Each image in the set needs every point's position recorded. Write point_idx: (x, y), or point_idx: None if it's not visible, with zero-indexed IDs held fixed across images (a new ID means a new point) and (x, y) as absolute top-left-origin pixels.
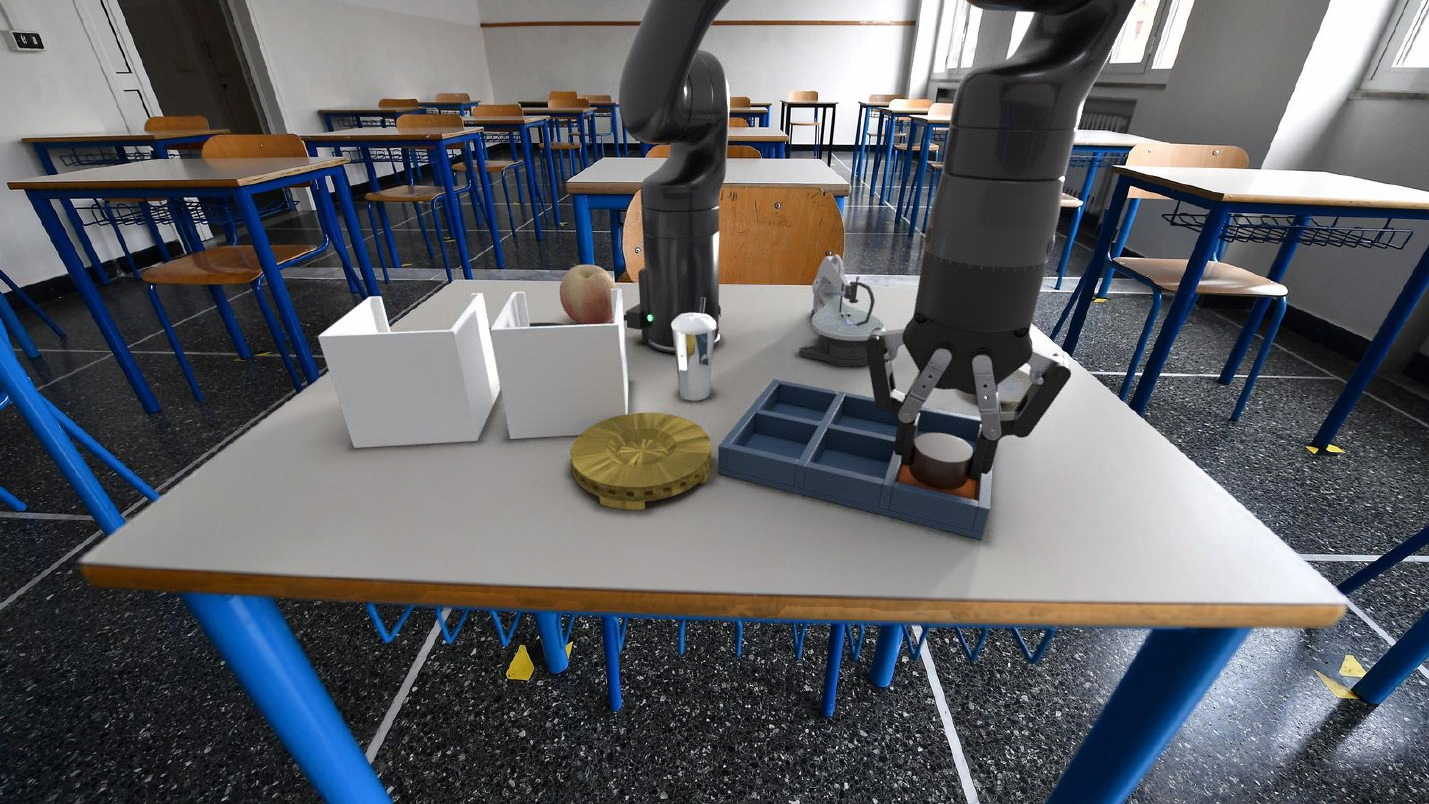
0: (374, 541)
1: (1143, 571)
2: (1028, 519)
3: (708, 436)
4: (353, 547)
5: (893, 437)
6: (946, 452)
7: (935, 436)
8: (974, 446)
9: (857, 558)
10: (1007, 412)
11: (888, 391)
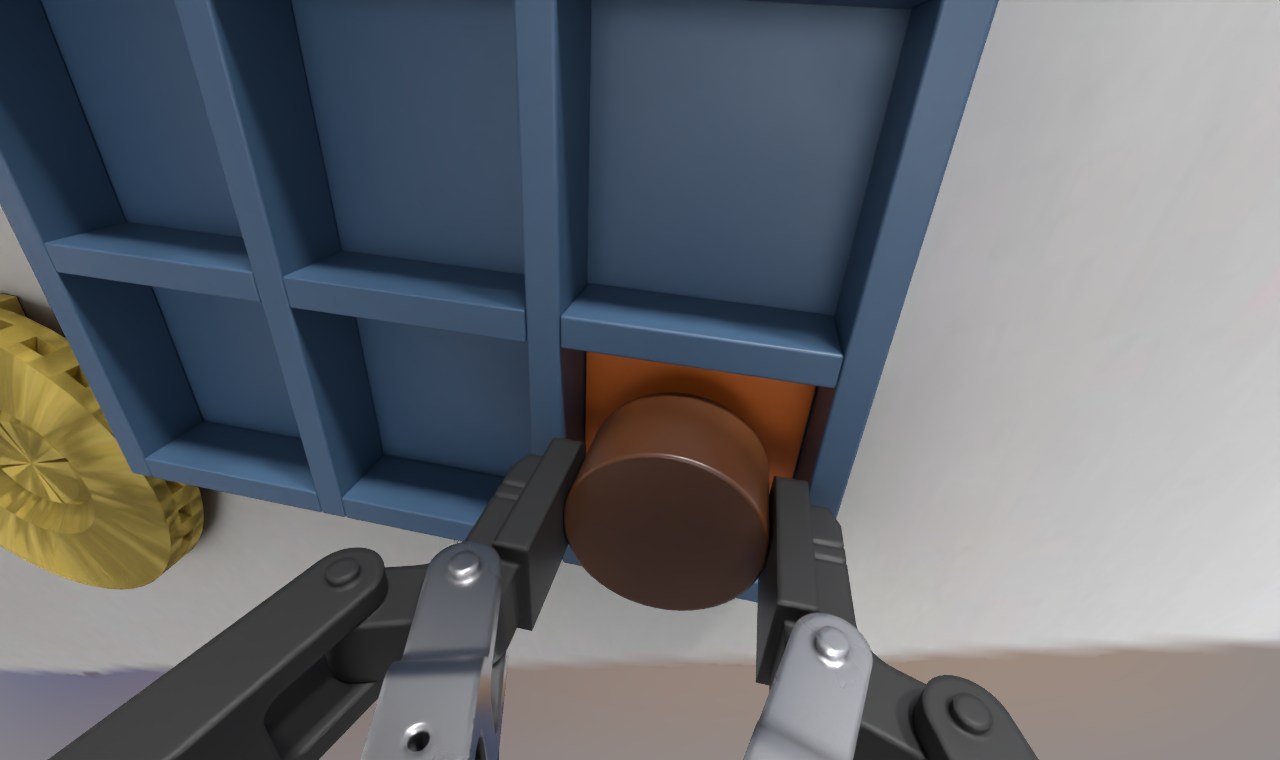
0: (13, 631)
1: (1196, 579)
2: (956, 447)
3: (77, 400)
4: (11, 640)
5: (510, 314)
6: (672, 565)
7: (631, 480)
8: (775, 524)
9: (557, 604)
10: (885, 746)
11: (340, 730)
